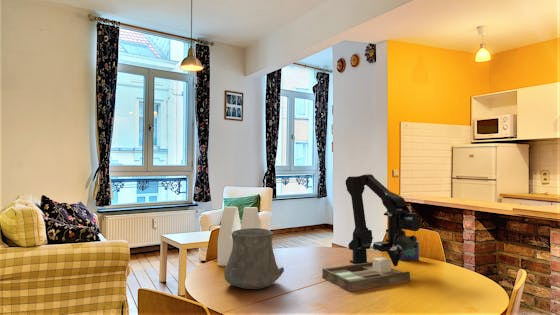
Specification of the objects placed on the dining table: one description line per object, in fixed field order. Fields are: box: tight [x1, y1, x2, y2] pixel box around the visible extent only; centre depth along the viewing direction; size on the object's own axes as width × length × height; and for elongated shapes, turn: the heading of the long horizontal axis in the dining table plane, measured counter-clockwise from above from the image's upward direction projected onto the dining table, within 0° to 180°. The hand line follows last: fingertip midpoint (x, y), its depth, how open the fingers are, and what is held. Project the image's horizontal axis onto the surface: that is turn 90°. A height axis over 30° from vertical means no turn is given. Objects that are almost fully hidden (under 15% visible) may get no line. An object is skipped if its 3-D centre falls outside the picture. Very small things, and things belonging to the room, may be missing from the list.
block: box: [372, 256, 392, 273], centre depth 146 cm, size 5×5×4 cm
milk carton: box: [217, 206, 262, 267], centre depth 171 cm, size 19×15×25 cm
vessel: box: [223, 228, 285, 290], centre depth 136 cm, size 22×22×20 cm
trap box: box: [321, 261, 411, 293], centre depth 143 cm, size 18×28×4 cm, turn 115°
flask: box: [399, 240, 420, 262], centre depth 172 cm, size 9×3×11 cm, turn 88°
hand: (395, 266), depth 149 cm, fingers closed
